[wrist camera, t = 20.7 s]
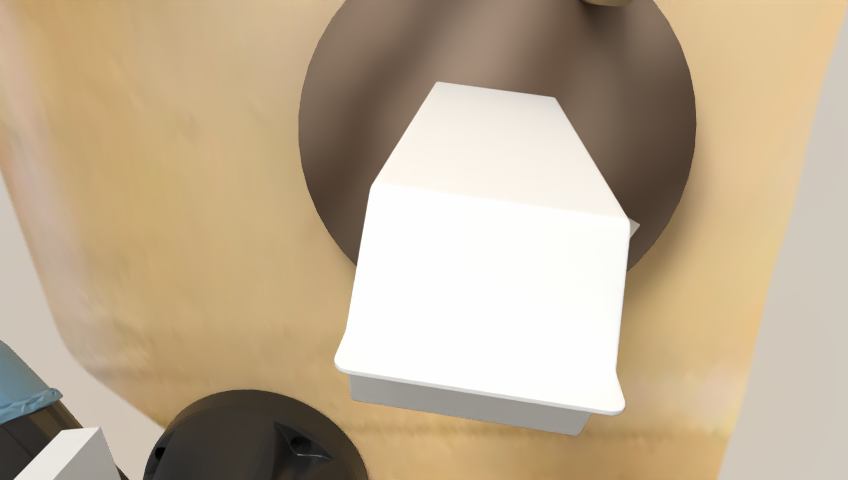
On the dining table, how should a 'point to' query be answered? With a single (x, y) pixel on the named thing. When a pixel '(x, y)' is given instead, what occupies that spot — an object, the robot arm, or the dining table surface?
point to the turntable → (502, 70)
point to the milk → (489, 269)
